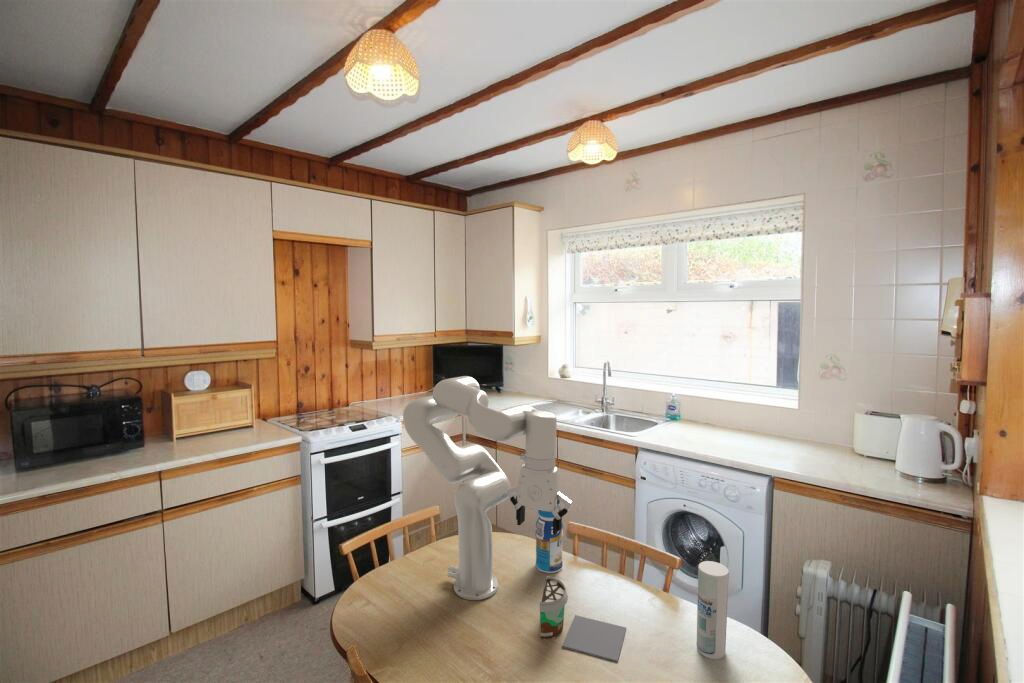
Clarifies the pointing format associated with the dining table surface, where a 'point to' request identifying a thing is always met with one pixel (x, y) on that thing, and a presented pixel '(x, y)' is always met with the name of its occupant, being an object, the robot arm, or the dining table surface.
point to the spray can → (712, 609)
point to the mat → (595, 638)
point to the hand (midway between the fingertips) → (538, 527)
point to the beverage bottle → (548, 544)
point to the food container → (552, 608)
